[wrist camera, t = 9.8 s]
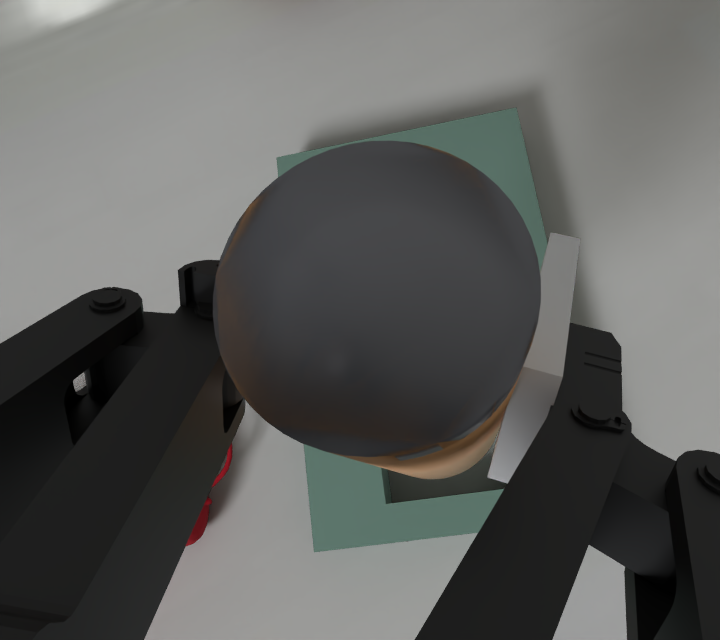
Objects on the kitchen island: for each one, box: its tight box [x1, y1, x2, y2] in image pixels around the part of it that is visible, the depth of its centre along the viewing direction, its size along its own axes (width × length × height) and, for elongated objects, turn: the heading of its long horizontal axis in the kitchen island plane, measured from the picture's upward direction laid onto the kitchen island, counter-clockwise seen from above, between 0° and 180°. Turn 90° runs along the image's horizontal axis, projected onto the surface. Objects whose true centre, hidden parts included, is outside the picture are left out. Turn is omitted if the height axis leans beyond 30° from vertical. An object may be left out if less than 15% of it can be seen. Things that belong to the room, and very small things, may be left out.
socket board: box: [277, 108, 548, 552], centre depth 33 cm, size 22×14×2 cm, turn 7°
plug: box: [213, 141, 541, 479], centre depth 14 cm, size 4×4×12 cm
